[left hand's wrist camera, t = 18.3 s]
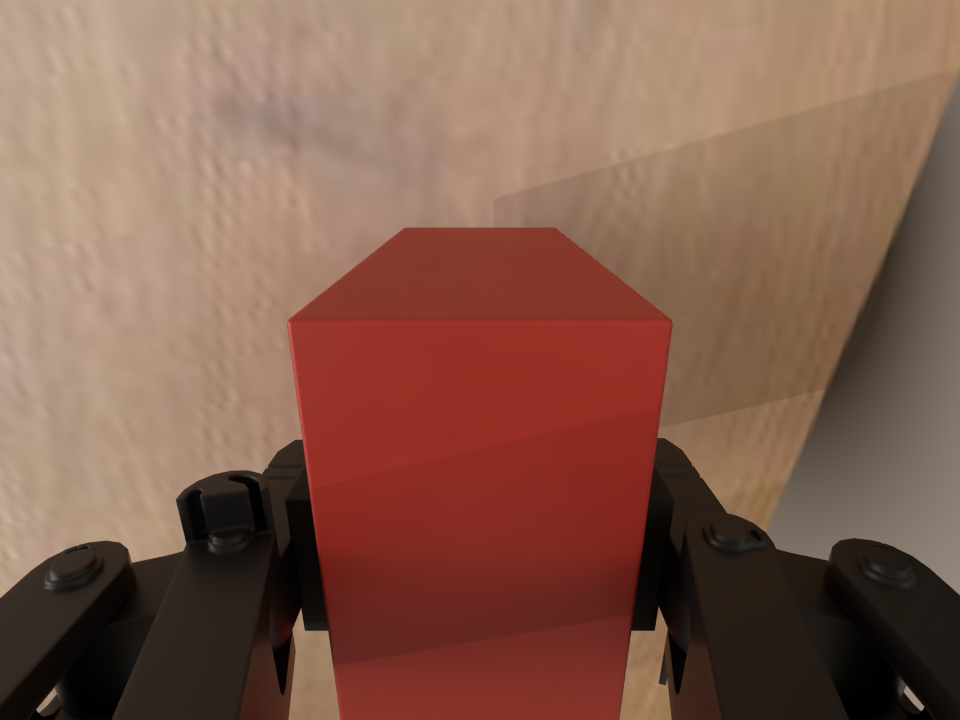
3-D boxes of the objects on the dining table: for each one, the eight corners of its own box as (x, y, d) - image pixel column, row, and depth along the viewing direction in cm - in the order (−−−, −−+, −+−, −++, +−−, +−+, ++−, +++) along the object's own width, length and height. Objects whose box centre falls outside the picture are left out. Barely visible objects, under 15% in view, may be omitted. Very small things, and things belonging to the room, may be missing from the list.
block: (543, 485, 19) (608, 810, 9) (416, 485, 19) (351, 810, 9) (556, 227, 16) (675, 319, 6) (402, 227, 16) (283, 319, 6)
